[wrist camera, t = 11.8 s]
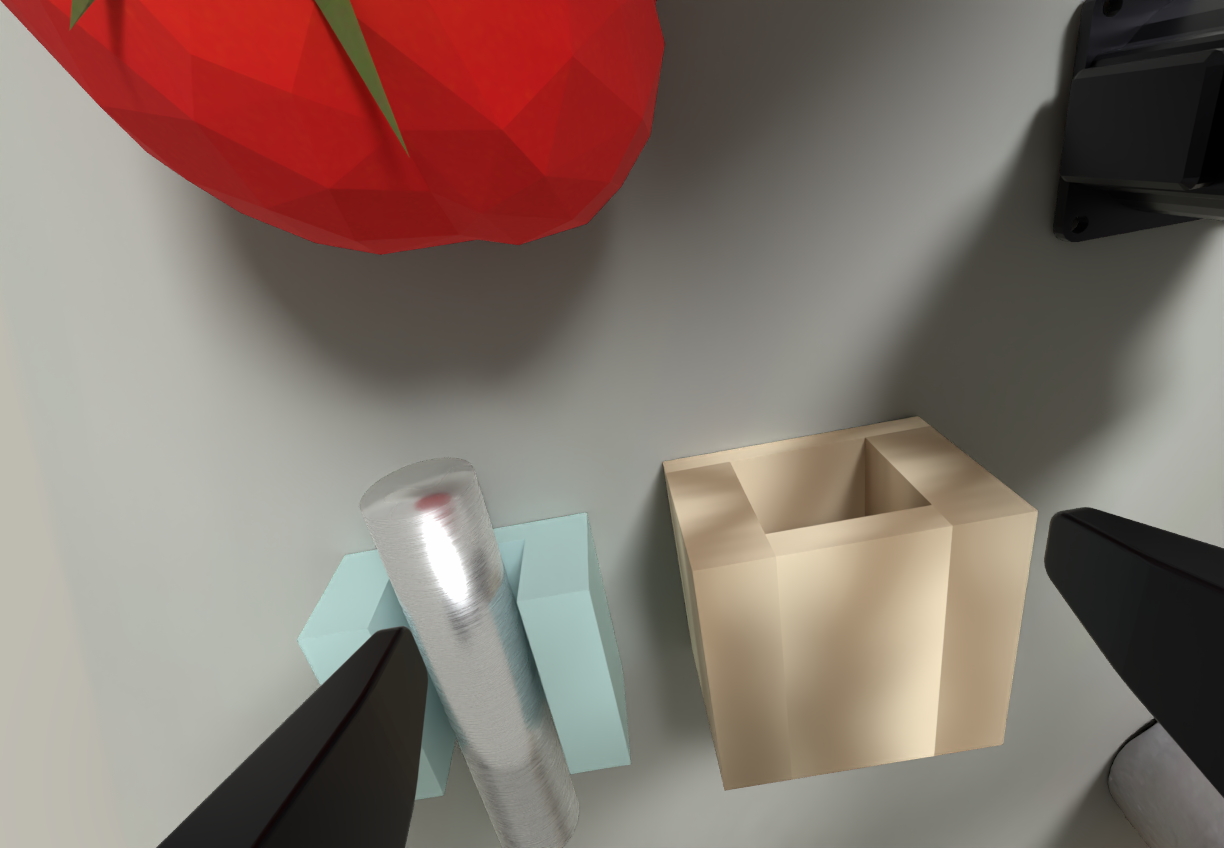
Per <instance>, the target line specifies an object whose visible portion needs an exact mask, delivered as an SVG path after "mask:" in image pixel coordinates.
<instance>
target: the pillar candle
mask: <svg viewBox="0 0 1224 848" xmlns="http://www.w3.org/2000/svg"><path fill="white" fill-rule="evenodd" d="M1108 785H1109V789H1110V793H1111V795H1112V797H1113V799H1114V800H1115V801H1116V803H1117V804H1118V806H1119V807H1120V809H1121V810H1122V811H1123V813H1124V815H1125V817H1126V818H1127V820H1128V821H1129V822H1130V823H1131V825H1132V826H1133V827H1134V828H1135V829H1136V830H1137V832H1138V833H1139V834H1140V836H1141V837H1142V838H1143V839H1144V841H1145V842H1146V843H1147V845H1148V846H1149V847H1150V848H1224V798H1223V797H1222V796H1221V795H1220V794H1219V792H1218V791H1217V790H1216V789H1215V788H1214V787H1213V785H1212V784H1211V783H1210V782H1209V781H1208V780H1207V778H1206V777H1205V776H1204V775H1203V774H1202V773H1201V771H1200V770H1199V769H1198V768H1197V767H1196V766H1195V764H1194V763H1193V762H1192V761H1191V760H1190V759H1189V757H1188V756H1187V755H1186V754H1185V753H1184V752H1183V750H1182V749H1181V748H1180V747H1179V746H1178V745H1177V743H1176V742H1175V741H1174V740H1173V739H1172V738H1171V736H1170V735H1169V734H1168V733H1167V732H1166V731H1165V729H1164V728H1163V727H1162V726H1161V725H1160V724H1159V722H1157V723H1156V724H1155V725H1154V726H1152V727H1151V728H1149V729H1148V730H1146V731H1145V732H1143V733H1142V734H1140V735H1139V736H1137V737H1136V738H1134V739H1133V740H1131V741H1130V742H1129V743H1127V744H1126V745H1125V746H1124V748H1122V750H1121V751H1120V752H1119V753H1118V755H1117V757H1116V758H1115V759H1114V762H1113V765H1112V766H1111V770H1110V775H1109V779H1108Z"/></svg>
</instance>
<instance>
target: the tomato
mask: <svg viewBox="0 0 1224 848" xmlns="http://www.w3.org/2000/svg"><path fill="white" fill-rule="evenodd" d="M1 1H2V2H3V4H4V5H5V6H6V7H7V8H8V9H9V10H10V11H11V12H12V13H13V14H14V15H15V16H16V17H17V18H18V20H19V21H20V22H21V23H22V24H23V25H24V26H25V27H26V28H27V29H28V30H29V31H30V32H31V33H32V34H33V36H34V37H35V38H36V39H37V40H38V41H39V42H40V43H41V44H42V45H43V46H44V47H45V48H46V49H47V50H48V52H49V53H50V54H51V55H52V56H53V57H54V58H55V59H56V60H57V61H58V62H59V63H60V64H61V65H62V66H63V68H64V69H65V70H66V71H67V72H68V73H69V74H70V75H71V76H72V77H73V78H74V79H75V80H76V81H77V82H78V83H79V85H80V86H81V87H82V88H83V89H84V90H85V91H86V92H87V93H88V94H89V95H90V96H91V97H92V98H93V99H94V101H95V102H96V103H97V104H98V105H99V106H100V107H101V108H102V109H103V110H104V111H105V112H106V113H107V114H108V115H109V116H110V117H111V118H112V119H113V120H114V121H116V122H117V123H118V124H119V125H120V126H121V127H122V128H123V129H124V130H125V131H126V132H127V133H128V134H129V135H130V136H131V137H132V138H133V139H134V140H135V141H136V142H137V143H138V144H139V145H140V146H141V147H142V148H143V149H144V150H145V151H146V152H147V153H149V154H150V155H152V156H153V157H154V158H156V159H157V160H159V161H160V162H162V163H163V164H165V165H166V166H168V167H169V168H170V169H172V170H173V171H175V172H176V173H178V174H179V175H181V176H182V177H184V178H185V179H186V180H188V181H190V182H191V183H193V184H195V185H196V186H198V187H199V188H201V189H203V190H204V191H206V192H208V193H209V194H211V195H213V196H214V197H216V198H217V199H219V200H221V201H222V202H224V203H226V204H227V205H229V206H231V207H232V208H234V209H235V210H237V211H239V212H240V213H242V214H245V215H247V216H250V217H252V218H255V219H257V220H260V221H262V222H265V223H267V224H270V225H272V226H275V227H277V228H279V229H282V230H284V231H287V232H289V233H292V234H294V235H297V236H299V237H302V238H304V239H307V240H309V241H312V242H314V243H318V244H324V245H329V246H335V247H341V248H346V249H352V250H357V251H363V252H368V253H374V254H380V255H382V254H388V253H395V252H401V251H408V250H414V249H421V248H427V247H433V246H440V245H446V244H453V243H459V242H465V241H472V240H485V241H492V242H499V243H507V244H514V245H521V244H524V243H527V242H530V241H533V240H537V239H540V238H543V237H546V236H549V235H553V234H556V233H559V232H562V231H565V230H568V229H572V228H575V227H578V226H581V225H584V224H587V223H588V222H589V221H590V220H591V219H592V218H593V217H594V216H595V215H596V214H597V212H598V211H599V210H600V209H601V208H602V207H603V206H604V205H605V204H606V203H607V202H608V201H609V199H610V198H611V197H612V196H613V195H614V194H615V193H616V192H617V191H618V190H619V189H620V187H621V186H622V184H623V183H624V181H625V179H626V177H627V176H628V174H629V172H630V170H631V169H632V167H633V165H634V163H635V162H636V160H637V158H638V156H639V155H640V153H641V151H642V149H643V147H644V146H645V144H646V142H647V140H648V139H649V137H650V135H651V128H652V122H653V116H654V109H655V103H656V97H657V90H658V84H659V78H660V72H661V65H662V59H663V53H664V46H665V42H664V38H663V34H662V30H661V26H660V22H659V18H658V14H657V10H656V6H655V5H656V0H1Z"/></svg>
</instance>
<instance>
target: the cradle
mask: <svg viewBox="0 0 1224 848" xmlns="http://www.w3.org/2000/svg"><path fill="white" fill-rule="evenodd" d="M493 531H494V534H495V537H496V541H497V544H498V547H499V550H500V553H501V556H502V560H503V563H504V566H505V569H506V572H507V576H508V579H509V582H510V585H511V588H512V592H513V595H514V598H515V601H516V604H517V608H518V611H519V614H520V617H521V620H522V624H523V627H524V630H525V633H526V636H527V640H528V643H529V646H530V649H531V652H532V656H533V659H534V662H535V665H536V668H537V672H538V675H539V678H540V681H541V684H542V687H543V691H544V694H545V697H546V700H547V703H548V704H549V707H550V711H551V714H552V717H553V720H554V723H555V727H556V730H557V733H558V736H559V740H560V743H561V746H562V749H563V752H564V756H565V759H566V762H567V765H568V768H569V772H570V774H575V773H581V772H587V771H593V770H599V769H605V768H611V767H617V766H623V765H629V764H631V757H630V746H629V734H628V723H627V712H626V700H625V689H624V677H623V669H622V665H621V660H620V656H619V651H618V647H617V643H616V638H615V634H614V630H613V625H612V621H611V616H610V612H609V608H608V603H607V599H606V595H605V590H604V586H603V581H602V577H601V573H600V568H599V564H598V560H597V555H596V551H595V546H594V542H593V538H592V533H591V529H590V524H589V520H588V516H587V512H585V513H579V514H574V515H568V516H563V517H557V518H551V519H546V520H540V521H534V522H529V523H523V524H517V525H512V526H506V527H501V528H495V529H493ZM398 626H405V627H408V628H409V629H410V627H409V624H408V622H407V620H406V617H405V615H404V612H403V610H402V608H401V605H400V603H399V600H398V598H397V596H396V593H395V591H394V589H393V586H392V584H391V581H390V579H389V577H388V574H387V572H386V569H385V567H384V565H383V562H382V560H381V558H380V555H379V553H378V550H371V551H365V552H360V553H354V554H348V555H345V556H344V558H343V560H342V561H341V563H340V565H339V567H338V568H337V570H336V572H335V574H334V576H333V577H332V579H331V581H330V583H329V584H328V586H327V588H326V590H325V592H324V593H323V595H322V597H321V599H320V600H319V602H318V604H317V606H316V607H315V609H314V611H313V613H312V615H311V616H310V618H309V620H308V622H307V623H306V625H305V627H304V629H303V630H302V632H301V634H300V636H299V638H298V639H297V642H298V643H299V645H300V647H301V649H302V651H303V653H304V655H305V657H306V659H307V660H308V662H309V664H310V666H311V668H312V670H313V672H314V674H315V676H316V677H317V679H318V681H319V683H320V685H322V684H323V683H324V682H325V681H326V680H327V679H328V678H329V677H330V676H331V675H332V674H333V673H334V672H335V671H336V670H337V669H338V668H339V667H340V666H341V665H342V664H343V663H344V662H345V661H346V660H347V659H348V658H349V657H350V656H351V655H352V654H354V653H355V652H356V651H357V650H358V649H359V648H360V647H361V646H362V645H363V644H364V643H365V642H366V641H367V640H368V639H369V638H370V637H371V636H372V635H373V634H374V633H375V632H377V631H378V630H382V629H387V628H392V627H398ZM410 631H411V629H410ZM411 632H412V631H411ZM416 644H417V643H416ZM421 656H422V655H421ZM424 663H425V662H424ZM426 668H427V667H426ZM427 673H428V690H427V699H426V708H425V718H424V727H423V736H422V746H421V755H420V764H419V774H418V782H417V789H416V796H415V800H419V799H425V798H431V797H437V796H443V795H444V793H445V788H446V783H447V779H448V774H449V769H450V764H451V759H452V754H453V749H454V744H455V739H456V736H455V734H454V732H453V729H452V727H451V724H450V722H449V720H448V717H447V715H446V713H445V710H444V708H443V705H442V703H441V701H440V698H439V696H438V693H437V691H436V689H435V686H434V684H433V682H432V679H431V677H430V674H429V672H428V670H427Z"/></svg>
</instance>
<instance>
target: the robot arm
mask: <svg viewBox="0 0 1224 848" xmlns="http://www.w3.org/2000/svg"><path fill="white" fill-rule="evenodd" d="M1104 2H1105V0H1086V1H1085V3H1084V5H1083V9H1082V12H1081V20H1080V28H1079V35H1078V43H1077V50H1076V58H1075V65H1074V73H1073V80H1072V83H1071V89H1070V97H1069V105H1068V112H1067V120H1066V127H1065V135H1064V143H1063V150H1062V158H1061V165H1060V179H1059V186H1058V194H1057V201H1056V209H1055V217H1054V224H1053V231H1054V234H1055V236H1056V237H1057V238H1059V239H1060V240H1064V241H1069V242H1080V241H1085V240H1090V239H1096V238H1101V237H1107V236H1112V235H1117V234H1123V233H1128V232H1134V231H1139V230H1144V229H1150V228H1155V227H1161V226H1166V225H1171V224H1177V223H1182V222H1188V221H1193V220H1199V219H1204V218H1205V219H1213V220H1222V221H1224V0H1110V9H1109V12H1108V13H1107V15H1106V16H1105V14H1104V13H1103V5H1104ZM1077 217H1078V224H1077V226H1076V227H1075V228H1074V229H1073V230H1072V231H1071V225H1072V222H1073V221H1074V220H1075V219H1076V218H1077ZM1044 563H1045V569H1046V572H1047V574H1048V576H1049V578H1050V580H1051V581H1052V582H1053V584H1054V585H1055V587H1056V588H1057V589H1058V591H1059V592H1060V594H1061V595H1062V597H1063V598H1064V599H1065V601H1066V602H1067V604H1068V605H1069V606H1070V608H1071V609H1072V611H1073V612H1074V613H1075V615H1076V616H1077V618H1078V619H1079V621H1080V622H1081V623H1082V625H1083V626H1084V628H1085V629H1086V630H1087V632H1088V633H1089V635H1090V636H1091V637H1092V639H1093V640H1094V642H1095V643H1096V644H1097V646H1098V647H1099V649H1100V650H1101V652H1102V653H1103V654H1104V656H1105V657H1106V659H1107V660H1108V661H1109V663H1110V664H1111V665H1112V667H1113V668H1114V669H1115V671H1116V672H1117V673H1118V675H1119V676H1120V677H1121V679H1122V680H1123V681H1124V682H1125V683H1126V685H1127V686H1128V687H1129V688H1130V690H1131V691H1132V692H1133V693H1134V694H1135V696H1136V697H1137V698H1138V699H1139V700H1140V701H1141V703H1142V704H1143V705H1144V706H1145V707H1146V708H1147V710H1148V711H1149V712H1150V713H1151V714H1152V715H1153V717H1154V718H1155V719H1156V720H1157V721H1158V722H1159V724H1160V725H1161V726H1162V727H1163V728H1164V729H1165V731H1166V732H1167V733H1168V734H1169V735H1170V736H1171V738H1172V739H1173V740H1174V741H1175V742H1176V743H1177V745H1178V746H1179V747H1180V748H1181V749H1182V750H1183V752H1184V753H1185V754H1186V755H1187V756H1188V757H1189V759H1190V760H1191V761H1192V762H1193V763H1194V764H1195V766H1196V767H1197V768H1198V769H1199V770H1200V771H1201V773H1202V774H1203V775H1204V776H1205V777H1206V778H1207V780H1208V781H1209V782H1210V783H1211V784H1212V785H1213V787H1214V788H1215V789H1216V790H1217V791H1218V792H1219V794H1220V795H1221V796H1222V797H1223V798H1224V548H1221V547H1218V546H1214V545H1211V544H1208V543H1204V542H1201V541H1198V540H1195V539H1191V538H1188V537H1185V536H1182V535H1178V534H1175V533H1172V532H1169V531H1165V530H1162V529H1159V528H1156V527H1152V526H1149V525H1146V524H1143V523H1139V522H1136V521H1133V520H1130V519H1126V518H1123V517H1120V516H1117V515H1113V514H1110V513H1107V512H1104V511H1100V510H1097V509H1094V508H1088V507H1082V508H1076V509H1070V510H1065V511H1060V512H1057V513H1056V514H1054V516H1053V517H1052V518H1051V521H1050V526H1049V532H1048V538H1047V545H1046V551H1045V557H1044ZM427 690H428V673H427V668H426V665H425V663H424V660H423V658H422V656H421V653H420V651H419V648H418V646H417V644H416V641H415V639H414V636H413V634H412V632H411V631H410V629H409V628H408V627H405V626H398V627H392V628H387V629H382V630H378V631H377V632H375V633H374V634H373V635H372V636H371V637H370V638H369V639H368V640H367V641H366V642H365V643H364V644H363V645H362V646H361V647H360V648H359V649H358V650H357V651H356V652H355V653H354V654H352V655H351V656H350V657H349V658H348V659H347V660H346V661H345V662H344V663H343V664H342V665H341V666H340V667H339V668H338V669H337V670H336V671H335V672H334V673H333V674H332V675H331V676H330V677H329V678H328V679H327V680H326V681H325V682H324V683H323V684H322V685H321V686H320V687H319V688H318V689H317V690H316V691H315V692H314V693H313V694H312V695H311V696H310V697H309V698H308V699H307V700H306V701H305V702H304V703H303V704H302V705H301V706H300V707H299V708H298V709H297V710H296V711H295V712H294V713H293V714H292V715H291V716H290V717H289V718H288V719H286V720H285V721H284V722H283V723H282V724H281V725H280V726H279V727H278V728H277V729H276V730H275V731H274V732H273V733H272V734H271V735H270V736H269V737H268V738H267V739H266V740H265V741H264V742H263V743H262V744H261V745H260V746H259V747H258V748H257V749H256V750H255V751H254V752H253V753H252V754H251V755H250V756H249V757H248V758H247V759H246V760H245V761H244V762H243V763H242V764H241V765H240V766H239V767H238V768H237V769H236V770H235V771H234V772H233V773H232V774H231V775H230V776H229V777H228V778H227V779H226V780H225V781H224V782H223V783H222V784H220V785H219V786H218V787H217V788H216V789H215V790H214V791H213V792H212V793H211V794H210V795H209V796H208V797H207V798H206V799H205V800H204V801H203V802H202V803H201V804H200V805H199V806H198V807H197V808H196V809H195V810H194V811H193V812H192V813H191V814H190V815H189V816H188V817H187V818H186V819H185V820H184V821H183V822H182V823H181V824H180V825H179V826H178V827H177V828H176V829H175V830H174V831H173V832H172V833H171V834H170V835H169V836H168V837H167V838H166V839H165V840H164V841H163V842H162V843H161V844H159V845H158V846H157V847H156V848H405V845H406V841H407V836H408V831H409V827H410V822H411V817H412V812H413V807H414V802H415V796H416V789H417V782H418V774H419V764H420V755H421V746H422V736H423V727H424V718H425V708H426V699H427Z"/></svg>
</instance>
